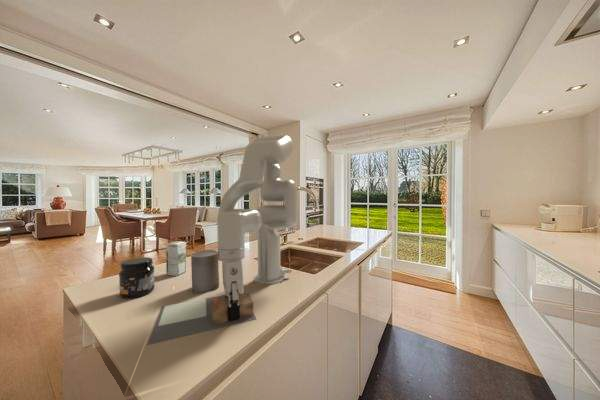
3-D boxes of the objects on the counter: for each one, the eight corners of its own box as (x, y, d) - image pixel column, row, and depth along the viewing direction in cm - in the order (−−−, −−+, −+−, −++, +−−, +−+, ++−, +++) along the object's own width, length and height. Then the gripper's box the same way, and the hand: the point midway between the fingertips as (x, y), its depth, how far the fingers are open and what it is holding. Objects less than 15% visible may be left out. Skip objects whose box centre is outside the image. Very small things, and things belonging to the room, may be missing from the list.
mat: (244, 292, 81) (244, 290, 81) (256, 320, 62) (256, 318, 62) (161, 307, 70) (161, 305, 70) (147, 346, 52) (147, 344, 52)
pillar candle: (215, 281, 92) (214, 245, 92) (222, 288, 84) (221, 250, 84) (189, 287, 86) (188, 249, 86) (194, 296, 78) (193, 254, 78)
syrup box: (175, 271, 104) (174, 241, 104) (186, 271, 104) (185, 241, 103) (166, 275, 99) (165, 243, 99) (178, 276, 98) (177, 243, 98)
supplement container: (116, 294, 81) (115, 261, 80) (149, 284, 89) (148, 255, 88) (123, 302, 74) (122, 267, 74) (158, 291, 82) (158, 259, 82)
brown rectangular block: (248, 305, 70) (248, 292, 70) (253, 315, 64) (252, 301, 64) (211, 313, 66) (211, 299, 66) (212, 324, 60) (212, 309, 60)
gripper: (249, 259, 58) (250, 325, 59) (239, 245, 74) (240, 298, 75) (220, 262, 55) (220, 333, 56) (216, 248, 71) (216, 303, 71)
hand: (232, 312), depth 65 cm, fingers closed on brown rectangular block, 6 cm apart
